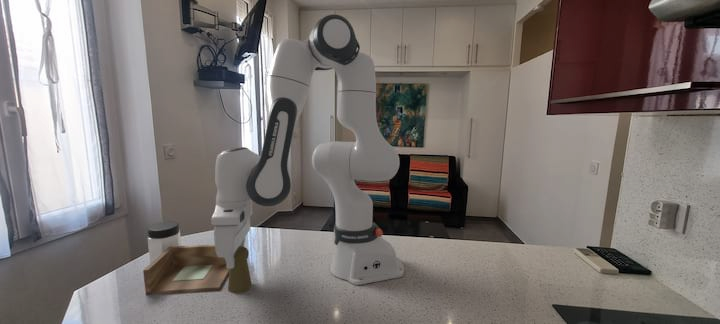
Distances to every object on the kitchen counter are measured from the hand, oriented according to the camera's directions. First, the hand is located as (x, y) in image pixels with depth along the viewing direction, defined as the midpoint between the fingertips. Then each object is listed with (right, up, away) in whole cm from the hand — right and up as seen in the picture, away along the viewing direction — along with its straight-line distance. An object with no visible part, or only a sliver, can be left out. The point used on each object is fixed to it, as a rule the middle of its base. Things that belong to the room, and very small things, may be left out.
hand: (235, 259), depth 80 cm
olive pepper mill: (+1, -8, +1) cm, 8 cm away
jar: (-28, -6, +14) cm, 32 cm away
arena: (-14, -7, +5) cm, 17 cm away
